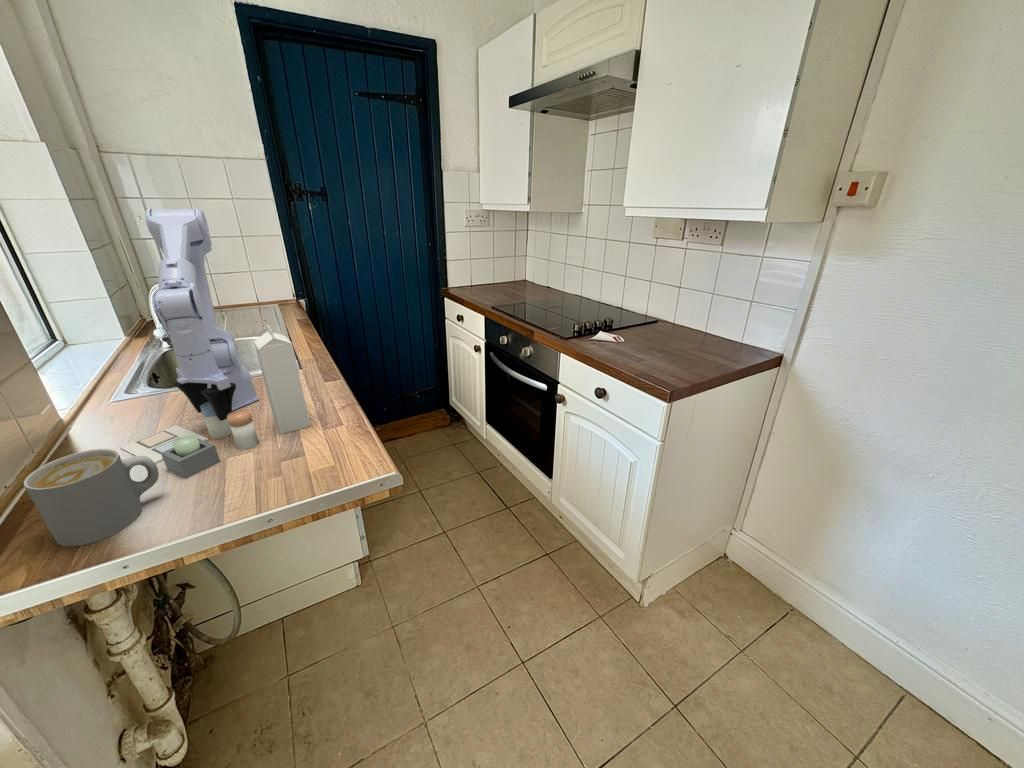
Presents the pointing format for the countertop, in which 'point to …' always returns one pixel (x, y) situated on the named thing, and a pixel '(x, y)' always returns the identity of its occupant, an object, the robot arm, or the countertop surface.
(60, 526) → the coffee mug
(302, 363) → the countertop surface
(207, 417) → the cylinder
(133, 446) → the sheet
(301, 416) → the milk
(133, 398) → the countertop surface
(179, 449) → the button
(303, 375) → the countertop surface
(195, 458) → the button housing
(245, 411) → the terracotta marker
